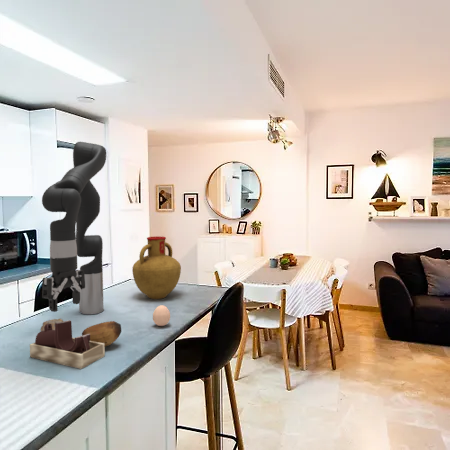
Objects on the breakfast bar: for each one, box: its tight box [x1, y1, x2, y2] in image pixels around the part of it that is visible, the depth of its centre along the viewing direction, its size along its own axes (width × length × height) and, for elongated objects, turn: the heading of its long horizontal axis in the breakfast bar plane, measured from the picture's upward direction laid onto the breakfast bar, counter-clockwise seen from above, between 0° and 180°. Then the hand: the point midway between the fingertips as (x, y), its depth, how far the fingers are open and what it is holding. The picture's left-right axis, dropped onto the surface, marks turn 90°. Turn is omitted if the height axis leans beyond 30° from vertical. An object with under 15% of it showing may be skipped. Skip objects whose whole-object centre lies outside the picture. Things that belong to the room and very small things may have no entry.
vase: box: [131, 235, 182, 300], centre depth 185 cm, size 24×24×30 cm
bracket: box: [34, 319, 90, 354], centre depth 114 cm, size 6×17×10 cm, turn 72°
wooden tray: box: [29, 336, 106, 370], centre depth 114 cm, size 21×10×4 cm, turn 67°
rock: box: [40, 318, 64, 332], centre depth 135 cm, size 9×6×10 cm
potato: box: [81, 320, 122, 348], centre depth 122 cm, size 8×13×8 cm
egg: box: [152, 304, 171, 327], centre depth 142 cm, size 7×7×8 cm
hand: (65, 307), depth 113 cm, fingers open, 8 cm apart
